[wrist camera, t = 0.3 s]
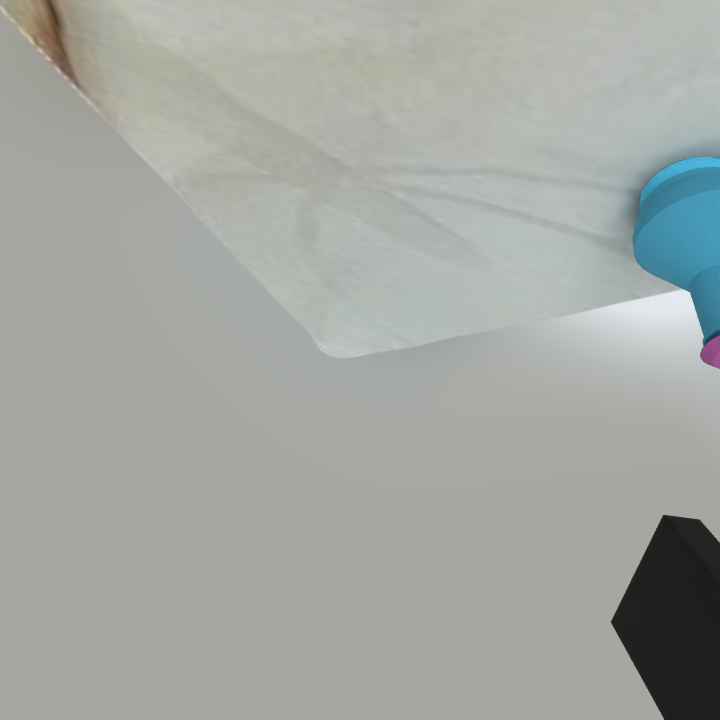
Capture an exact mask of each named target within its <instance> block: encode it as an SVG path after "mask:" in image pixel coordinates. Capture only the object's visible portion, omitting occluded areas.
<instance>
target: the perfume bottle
mask: <svg viewBox="0 0 720 720" xmlns="http://www.w3.org/2000/svg"><path fill="white" fill-rule="evenodd" d="M633 248H634V256H635V258H636V261H637V263H638V264H639V265H640V266H641V267H642V268H643V269H644V270H646V271H648V272H649V273H651V274H653V275H655V276H657V277H659V278H661V279H663V280H665V281H668V282H670V283H672V284H674V285H676V286H678V287H680V288H682V289H684V290H686V291H688V292H690V293H691V297H692V300H693V303H694V306H695V310H696V312H697V316H698V319H699V322H700V326H701V329H702V332H703V335H704V338H703V345H704V347H703V348H702V350H701V353H700V357H701V359H702V360H703V362H705V363H707V364H708V365H711V366H714V367H716V368H719V369H720V159H718V158H713V157H695V158H689V159H685V160H682V161H679V162H677V163H674V164H672V165H670V166H668V167H666V168H664V169H663V170H661V171H660V172H658V173H657V174H656V175H655V176H654V177H653V178H651V179H650V180H649V182H648V183H647V184H646V186H645V187H644V189H643V191H642V193H641V196H640V208H639V211H638V215H637V221H636V224H635V229H634V234H633Z"/></svg>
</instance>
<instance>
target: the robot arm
mask: <svg viewBox="0 0 720 720" xmlns="http://www.w3.org/2000/svg"><path fill="white" fill-rule="evenodd" d="M611 623H612V625H613V627H614V629H615V631H616V632H617V634H618V636H619V638H620V640H621V642H622V643H623V645H624V647H625V649H626V651H627V652H628V654H629V656H630V658H631V660H632V661H633V663H634V665H635V667H636V669H637V671H638V672H639V674H640V676H641V678H642V679H643V681H644V683H645V685H646V687H647V689H648V690H649V692H650V694H651V696H652V698H653V700H654V701H655V703H656V705H657V707H658V709H659V711H660V712H661V714H662V716H663V718H664V720H720V543H719V542H718V540H717V539H716V538H715V537H714V536H713V535H712V533H711V532H710V531H709V530H708V529H707V528H706V526H705V525H704V524H703V523H702V522H701V521H700V520H698V519H691V518H683V517H676V516H668V515H663V517H662V519H661V521H660V523H659V525H658V527H657V529H656V531H655V533H654V535H653V537H652V539H651V541H650V543H649V545H648V547H647V549H646V551H645V553H644V556H643V558H642V560H641V562H640V564H639V566H638V568H637V570H636V572H635V574H634V576H633V578H632V580H631V582H630V584H629V586H628V588H627V590H626V592H625V594H624V596H623V598H622V600H621V603H620V604H619V606H618V609H617V611H616V613H615V615H614V617H613V619H612V621H611Z"/></svg>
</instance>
